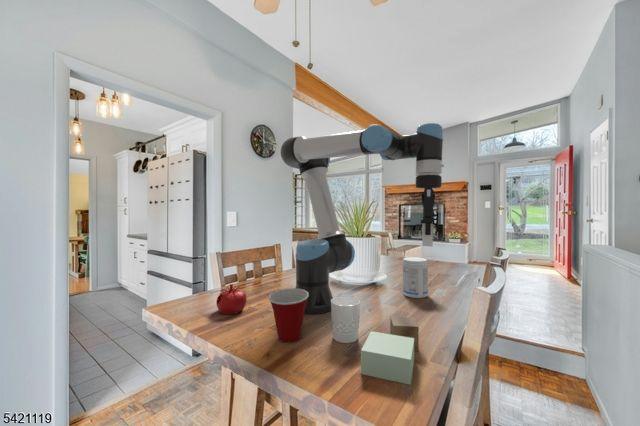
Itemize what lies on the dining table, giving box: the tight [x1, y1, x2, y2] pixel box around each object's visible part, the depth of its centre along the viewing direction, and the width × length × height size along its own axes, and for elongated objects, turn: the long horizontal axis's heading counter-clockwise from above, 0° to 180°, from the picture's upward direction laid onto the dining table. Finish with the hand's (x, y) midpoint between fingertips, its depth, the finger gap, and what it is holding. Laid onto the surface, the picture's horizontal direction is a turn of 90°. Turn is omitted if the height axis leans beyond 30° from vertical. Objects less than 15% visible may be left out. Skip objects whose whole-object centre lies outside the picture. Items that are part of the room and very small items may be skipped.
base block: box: [360, 331, 415, 386], centre depth 62 cm, size 10×10×5 cm
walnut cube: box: [389, 316, 420, 352], centre depth 73 cm, size 6×6×6 cm
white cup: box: [330, 296, 361, 344], centre depth 76 cm, size 8×8×10 cm
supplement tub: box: [402, 256, 429, 299], centre depth 114 cm, size 10×10×15 cm
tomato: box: [215, 283, 248, 315], centre depth 97 cm, size 10×10×9 cm
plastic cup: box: [268, 287, 309, 343], centre depth 76 cm, size 11×11×12 cm
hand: (426, 243), depth 88 cm, fingers open, 13 cm apart
